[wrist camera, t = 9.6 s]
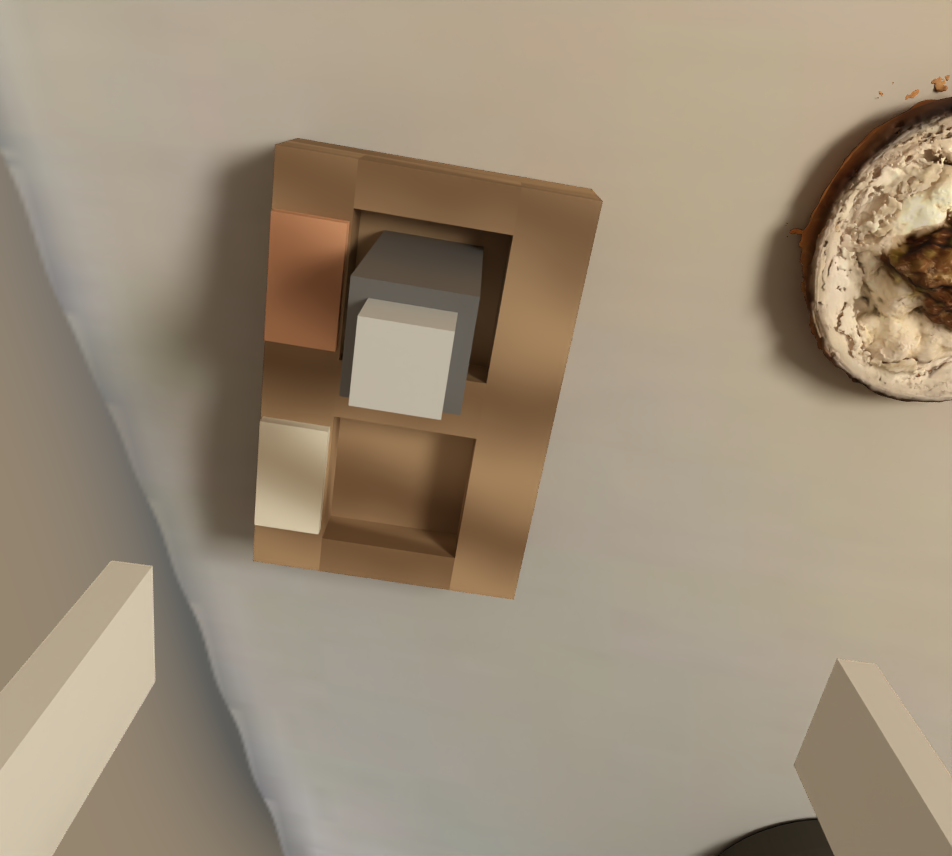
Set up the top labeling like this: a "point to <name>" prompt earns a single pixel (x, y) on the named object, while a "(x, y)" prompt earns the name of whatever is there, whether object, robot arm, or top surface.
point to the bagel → (888, 257)
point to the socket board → (399, 435)
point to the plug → (411, 325)
